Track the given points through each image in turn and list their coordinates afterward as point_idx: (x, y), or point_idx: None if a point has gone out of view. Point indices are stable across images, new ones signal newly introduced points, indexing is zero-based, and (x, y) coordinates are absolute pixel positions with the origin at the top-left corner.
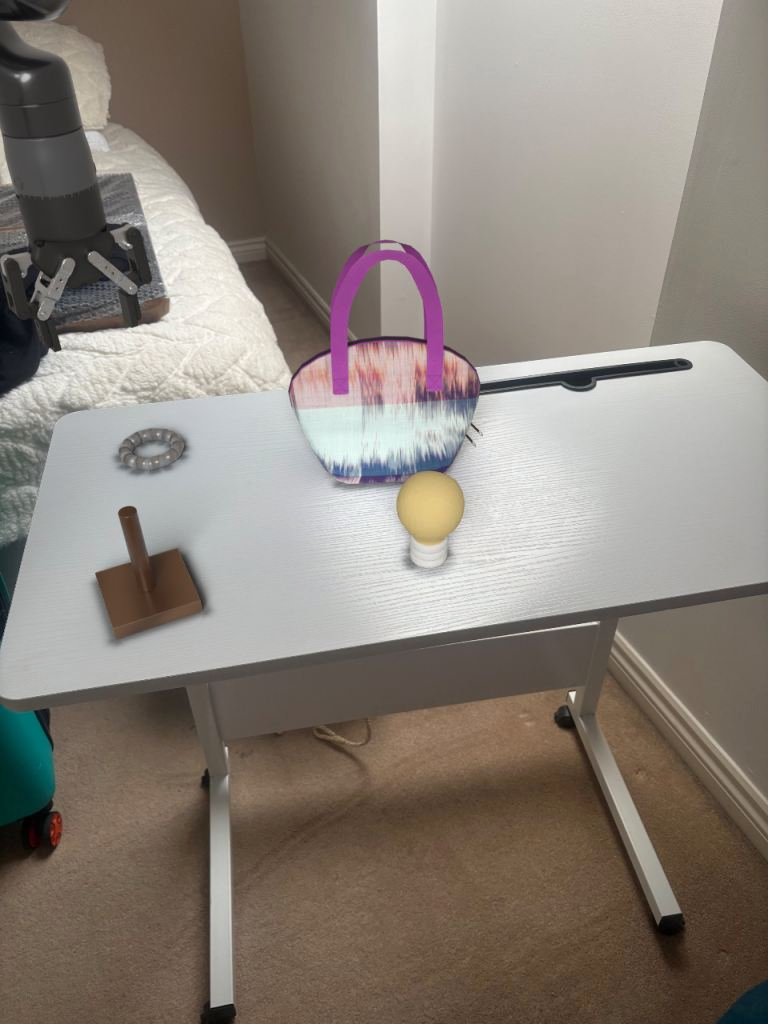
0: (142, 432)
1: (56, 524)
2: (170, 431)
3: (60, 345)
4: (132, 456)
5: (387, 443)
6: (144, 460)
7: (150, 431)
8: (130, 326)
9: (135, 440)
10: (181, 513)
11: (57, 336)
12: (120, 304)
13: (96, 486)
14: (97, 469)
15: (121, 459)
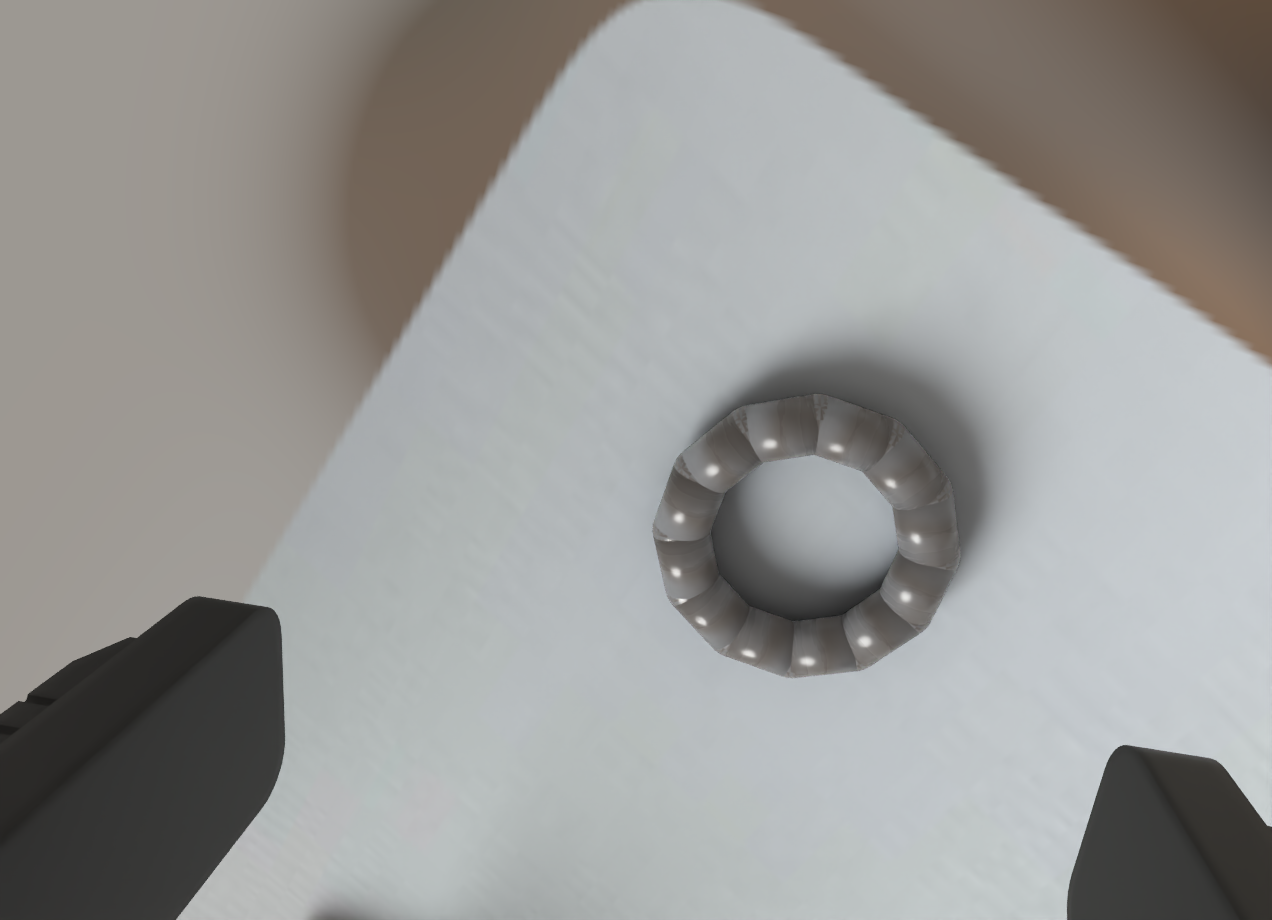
0: (835, 447)
1: (295, 632)
2: (937, 540)
3: (244, 828)
4: (685, 575)
5: None
6: (708, 632)
7: (871, 462)
8: (1079, 868)
9: (778, 458)
10: (654, 883)
11: (180, 899)
12: (1227, 895)
13: (503, 550)
14: (561, 453)
15: (656, 515)
